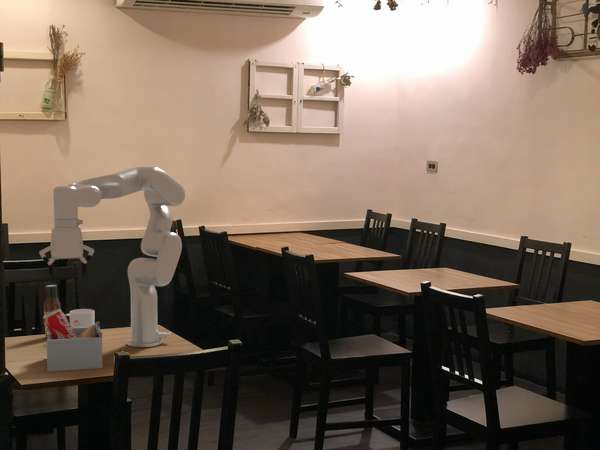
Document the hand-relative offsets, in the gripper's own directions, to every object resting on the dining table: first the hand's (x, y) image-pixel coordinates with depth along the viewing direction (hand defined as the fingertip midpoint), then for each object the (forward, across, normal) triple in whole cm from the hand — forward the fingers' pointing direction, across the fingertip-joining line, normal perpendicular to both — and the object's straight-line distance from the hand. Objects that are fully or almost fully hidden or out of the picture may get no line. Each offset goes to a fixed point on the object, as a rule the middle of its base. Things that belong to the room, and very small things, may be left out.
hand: (67, 275), depth 261 cm
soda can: (+23, 0, +1) cm, 23 cm away
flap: (+22, -3, 0) cm, 22 cm away
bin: (+29, -1, 0) cm, 29 cm away
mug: (+30, -3, -33) cm, 45 cm away
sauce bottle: (+30, +6, -41) cm, 51 cm away
